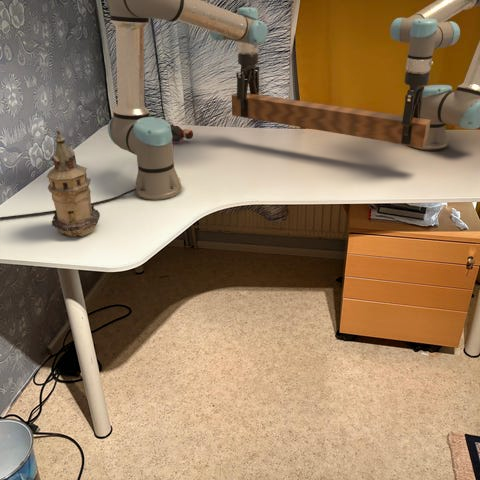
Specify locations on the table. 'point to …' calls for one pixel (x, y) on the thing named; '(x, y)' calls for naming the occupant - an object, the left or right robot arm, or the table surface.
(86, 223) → the miniature building
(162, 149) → the left robot arm
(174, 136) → the toy
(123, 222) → the table surface
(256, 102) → the beam
